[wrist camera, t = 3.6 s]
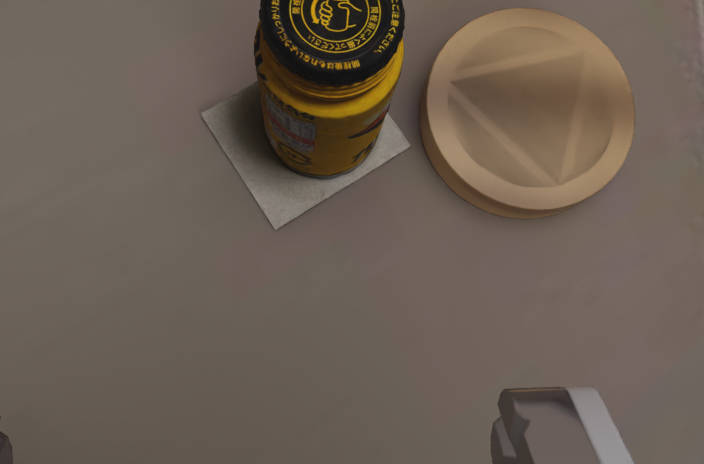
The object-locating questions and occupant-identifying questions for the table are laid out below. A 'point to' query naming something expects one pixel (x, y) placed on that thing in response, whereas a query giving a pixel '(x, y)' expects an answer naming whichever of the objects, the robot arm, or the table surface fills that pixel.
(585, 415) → the robot arm
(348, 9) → the condiment
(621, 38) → the table surface
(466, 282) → the table surface
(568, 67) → the coaster
